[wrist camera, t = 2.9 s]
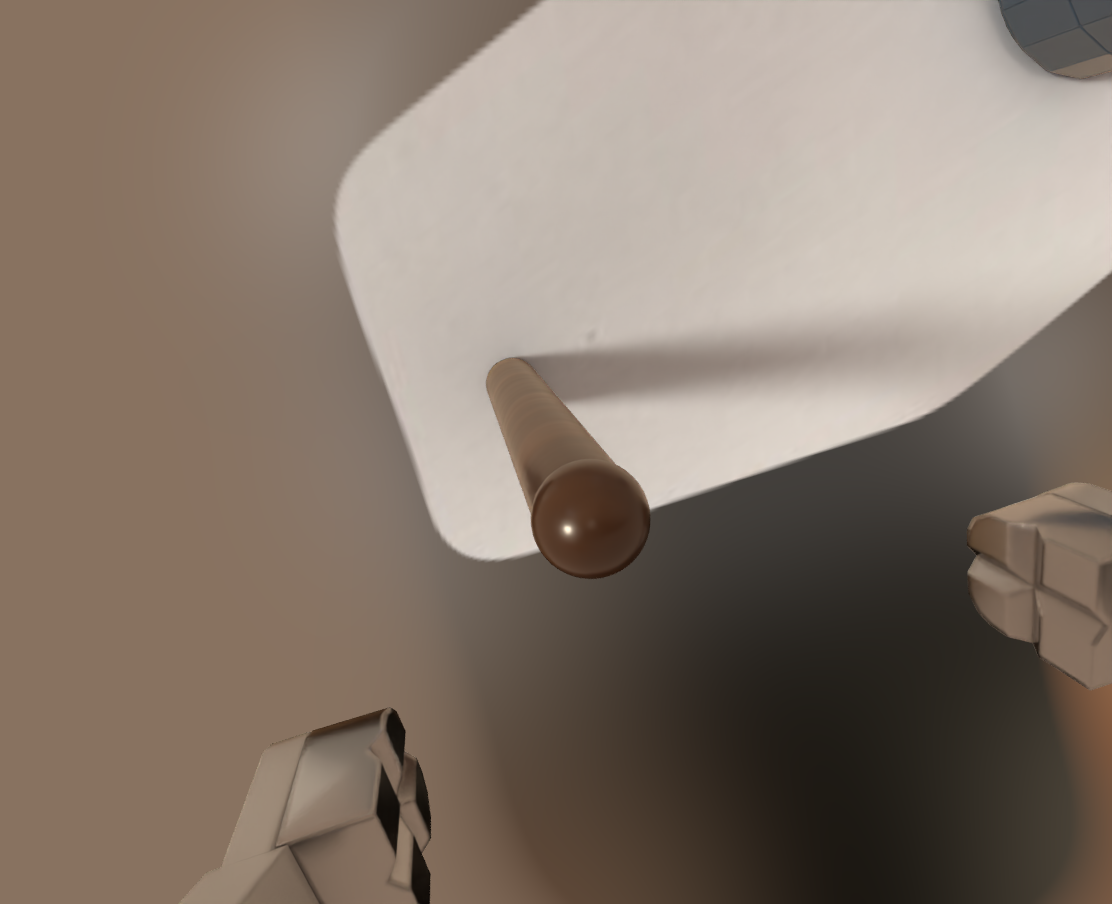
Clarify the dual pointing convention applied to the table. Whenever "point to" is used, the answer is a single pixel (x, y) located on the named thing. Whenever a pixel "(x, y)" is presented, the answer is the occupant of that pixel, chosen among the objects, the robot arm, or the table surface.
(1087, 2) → the bowl
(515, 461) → the stick
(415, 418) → the table surface
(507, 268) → the table surface
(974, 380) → the table surface
